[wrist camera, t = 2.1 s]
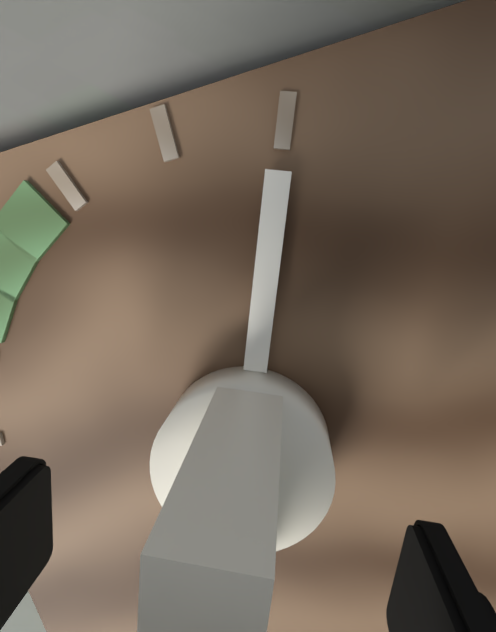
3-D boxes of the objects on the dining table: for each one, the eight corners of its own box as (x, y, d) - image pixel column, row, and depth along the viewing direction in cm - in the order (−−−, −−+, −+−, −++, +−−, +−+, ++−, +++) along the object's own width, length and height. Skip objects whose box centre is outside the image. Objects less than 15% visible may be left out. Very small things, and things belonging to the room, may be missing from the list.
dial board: (586, 620, 16) (620, 665, 14) (88, 656, 20) (70, 694, 18) (540, -3, 11) (583, -42, 10) (-105, 202, 15) (-153, 199, 14)
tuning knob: (316, 523, 14) (345, 867, 7) (164, 496, 15) (29, 789, 7) (377, 181, 11) (561, 87, 4) (184, 163, 12) (-14, 45, 4)
